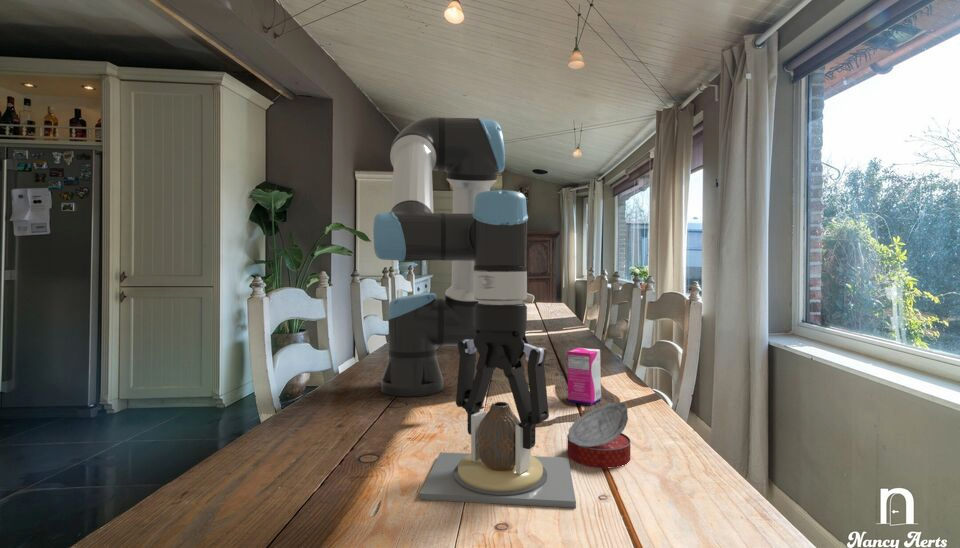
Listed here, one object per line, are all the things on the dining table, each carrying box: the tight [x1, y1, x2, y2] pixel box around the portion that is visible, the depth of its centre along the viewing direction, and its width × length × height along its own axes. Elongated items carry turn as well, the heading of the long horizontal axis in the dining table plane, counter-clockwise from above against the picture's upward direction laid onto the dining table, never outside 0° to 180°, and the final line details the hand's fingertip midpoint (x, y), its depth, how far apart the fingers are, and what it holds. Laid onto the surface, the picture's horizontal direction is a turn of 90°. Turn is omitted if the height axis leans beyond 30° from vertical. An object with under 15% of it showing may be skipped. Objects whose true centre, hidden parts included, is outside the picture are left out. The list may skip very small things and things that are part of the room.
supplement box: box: [566, 347, 602, 406], centre depth 110 cm, size 6×6×12 cm
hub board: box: [419, 451, 577, 509], centre depth 69 cm, size 14×20×2 cm
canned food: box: [567, 401, 632, 469], centre depth 78 cm, size 11×10×10 cm
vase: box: [476, 401, 521, 471], centre depth 69 cm, size 7×7×9 cm
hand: (500, 463), depth 69 cm, fingers closed on vase, 7 cm apart
